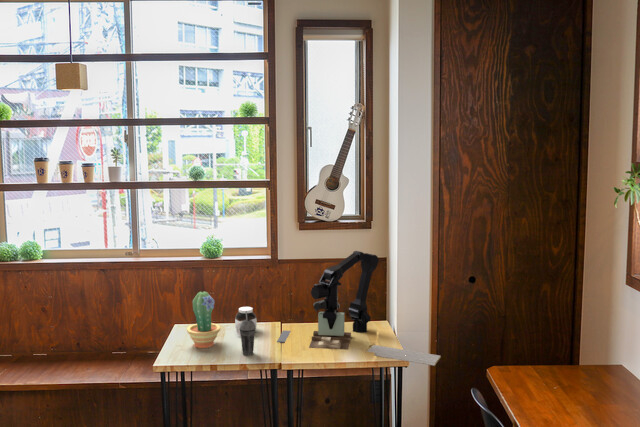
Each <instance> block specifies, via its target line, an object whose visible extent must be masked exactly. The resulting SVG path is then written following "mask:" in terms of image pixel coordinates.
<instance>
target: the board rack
mask: <svg viewBox="0 0 640 427" xmlns="http://www.w3.org/2000/svg"><path fill="white" fill-rule="evenodd" d="M322 337H331V340H339V342H340V343H341V345H340V348H328V347H318V343H319V342H321V339H322ZM351 338H352V332H350V331H348V332H347V331H344V336H335V335H318V330H313V334H312V335H311V341H310V343H309V345H308V349H328V350H346V351H348V350H349V349H350V344H351Z"/></svg>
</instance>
